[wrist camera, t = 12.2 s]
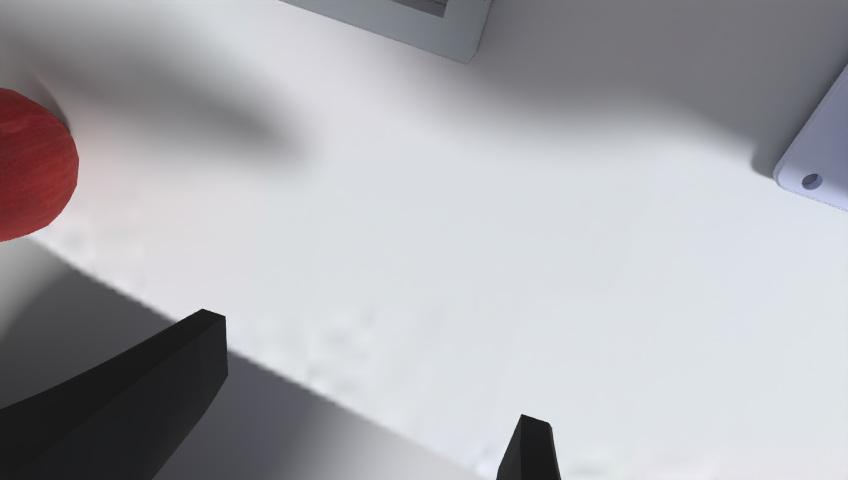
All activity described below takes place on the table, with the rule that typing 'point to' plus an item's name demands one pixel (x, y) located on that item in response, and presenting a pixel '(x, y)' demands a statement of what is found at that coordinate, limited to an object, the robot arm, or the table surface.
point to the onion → (32, 166)
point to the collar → (413, 22)
